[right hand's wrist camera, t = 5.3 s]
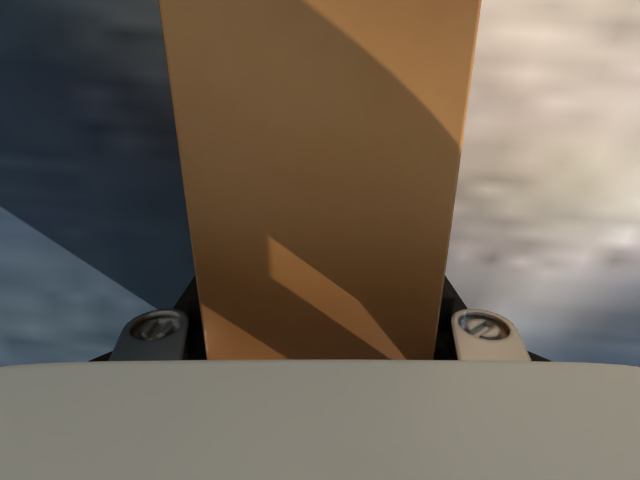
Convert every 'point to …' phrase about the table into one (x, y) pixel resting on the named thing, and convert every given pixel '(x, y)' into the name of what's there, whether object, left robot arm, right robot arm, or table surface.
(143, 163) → the table surface
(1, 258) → the table surface
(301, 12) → the beam
